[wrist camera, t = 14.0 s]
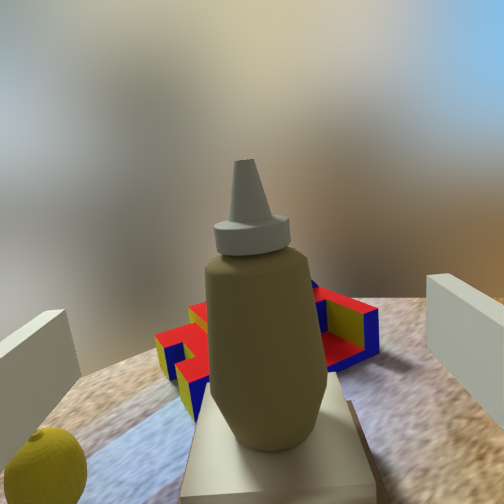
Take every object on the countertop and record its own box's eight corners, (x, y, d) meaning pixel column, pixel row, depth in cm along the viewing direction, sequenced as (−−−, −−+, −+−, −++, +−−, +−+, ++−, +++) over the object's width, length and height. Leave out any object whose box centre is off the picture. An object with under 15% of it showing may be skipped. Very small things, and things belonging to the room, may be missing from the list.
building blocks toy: (156, 360, 53) (132, 237, 49) (295, 312, 64) (286, 209, 60) (203, 437, 37) (174, 263, 32) (379, 354, 48) (375, 217, 43)
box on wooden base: (169, 633, 21) (145, 524, 19) (205, 448, 35) (192, 374, 33) (415, 620, 20) (414, 506, 18) (352, 437, 34) (348, 361, 32)
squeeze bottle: (355, 417, 25) (341, 149, 21) (273, 494, 20) (234, 158, 16) (272, 376, 31) (249, 160, 27) (193, 427, 26) (149, 170, 22)
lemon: (48, 564, 26) (19, 470, 24) (4, 534, 28) (-25, 447, 26) (110, 499, 30) (90, 416, 28) (68, 478, 33) (47, 401, 31)
